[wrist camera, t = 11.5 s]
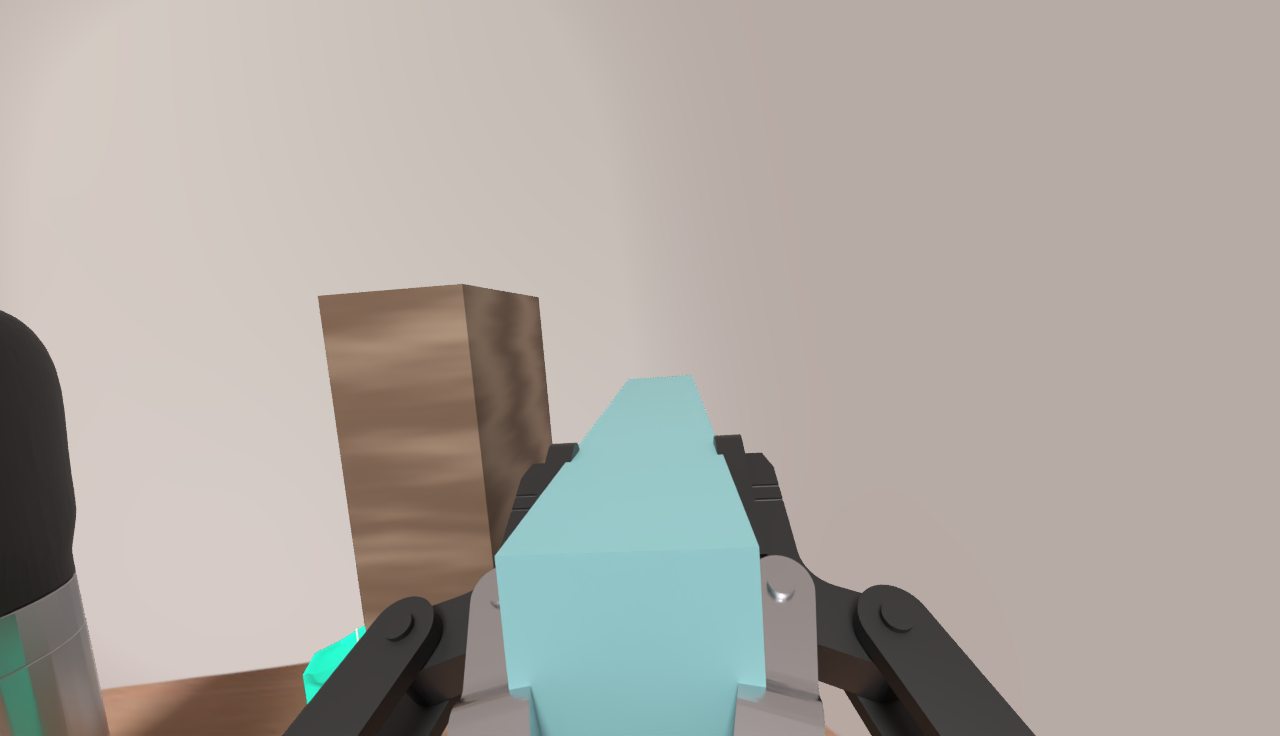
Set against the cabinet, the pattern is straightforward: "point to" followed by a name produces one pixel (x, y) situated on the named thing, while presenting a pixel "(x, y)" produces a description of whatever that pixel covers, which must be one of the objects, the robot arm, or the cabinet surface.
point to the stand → (433, 430)
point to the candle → (328, 662)
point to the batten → (636, 578)
